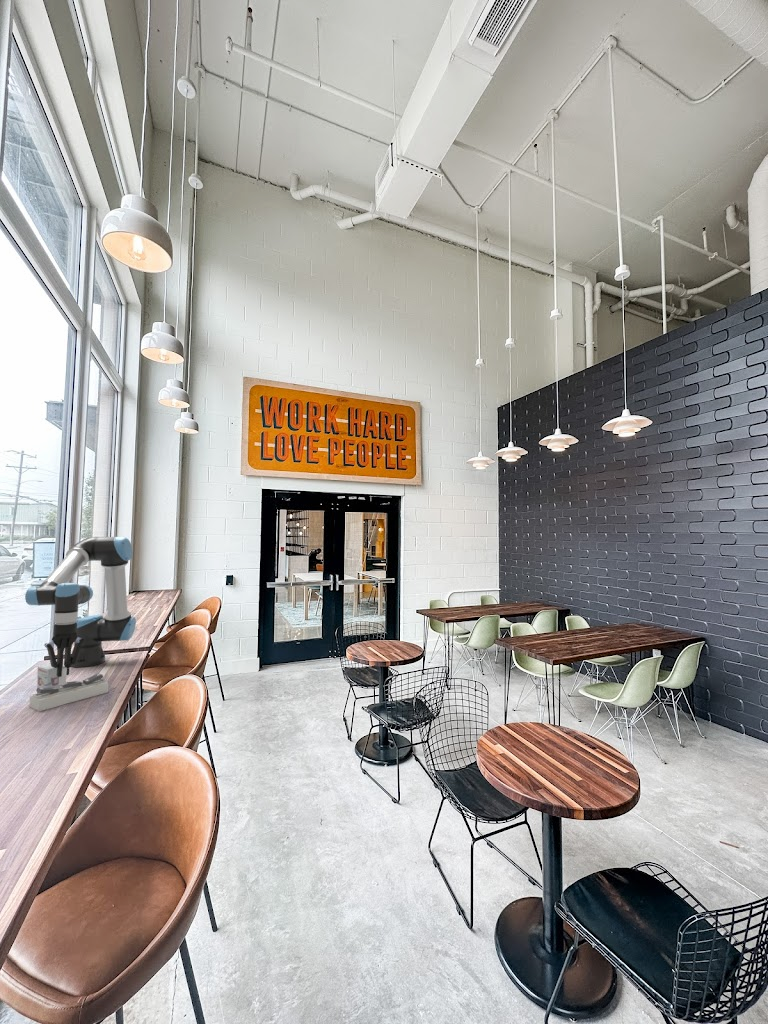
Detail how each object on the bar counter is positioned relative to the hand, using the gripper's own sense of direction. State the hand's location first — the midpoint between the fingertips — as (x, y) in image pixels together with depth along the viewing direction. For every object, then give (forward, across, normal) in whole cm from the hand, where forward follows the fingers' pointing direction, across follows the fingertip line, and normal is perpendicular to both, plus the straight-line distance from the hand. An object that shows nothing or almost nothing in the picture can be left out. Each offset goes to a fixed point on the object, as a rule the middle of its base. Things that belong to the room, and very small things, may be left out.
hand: (62, 684), depth 173 cm
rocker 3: (+1, -11, 0) cm, 11 cm away
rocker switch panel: (+7, -3, 0) cm, 7 cm away
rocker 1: (+1, +5, 0) cm, 5 cm away
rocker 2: (+1, -3, 0) cm, 3 cm away
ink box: (+7, 0, -12) cm, 14 cm away
